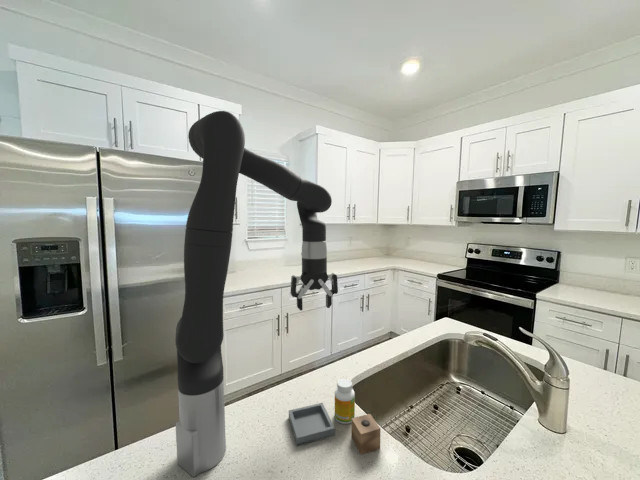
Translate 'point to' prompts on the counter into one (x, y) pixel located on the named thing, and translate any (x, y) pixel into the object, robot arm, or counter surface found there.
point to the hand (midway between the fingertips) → (314, 308)
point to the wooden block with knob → (365, 433)
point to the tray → (311, 424)
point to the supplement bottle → (344, 401)
